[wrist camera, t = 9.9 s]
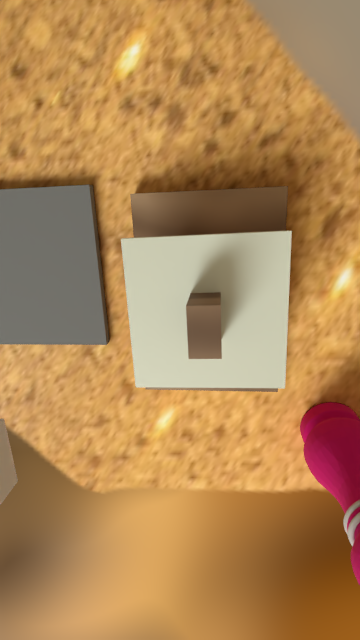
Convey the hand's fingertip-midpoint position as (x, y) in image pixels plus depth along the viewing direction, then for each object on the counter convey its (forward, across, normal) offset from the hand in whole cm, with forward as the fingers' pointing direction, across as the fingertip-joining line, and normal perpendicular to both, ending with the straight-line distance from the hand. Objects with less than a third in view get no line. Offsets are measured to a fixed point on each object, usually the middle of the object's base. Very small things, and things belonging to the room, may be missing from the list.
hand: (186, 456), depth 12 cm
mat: (+24, -19, +3) cm, 31 cm away
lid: (+18, 0, 0) cm, 18 cm away
